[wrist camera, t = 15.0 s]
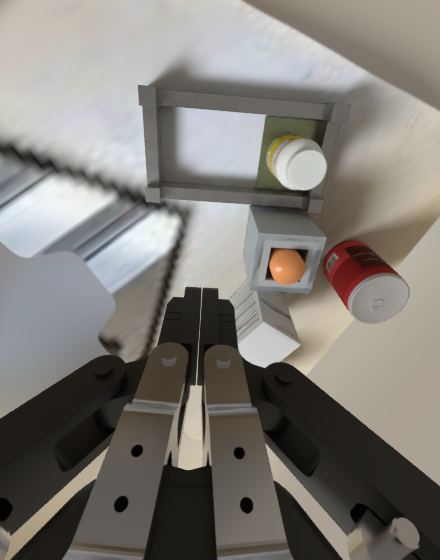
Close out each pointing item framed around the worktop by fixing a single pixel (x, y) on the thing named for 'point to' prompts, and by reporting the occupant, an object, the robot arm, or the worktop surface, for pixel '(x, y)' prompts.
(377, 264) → the canned food
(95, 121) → the worktop surface
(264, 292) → the supplement box
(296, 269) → the brown egg
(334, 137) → the grey rectangular tray
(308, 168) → the supplement bottle
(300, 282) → the cabinet
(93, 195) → the worktop surface
